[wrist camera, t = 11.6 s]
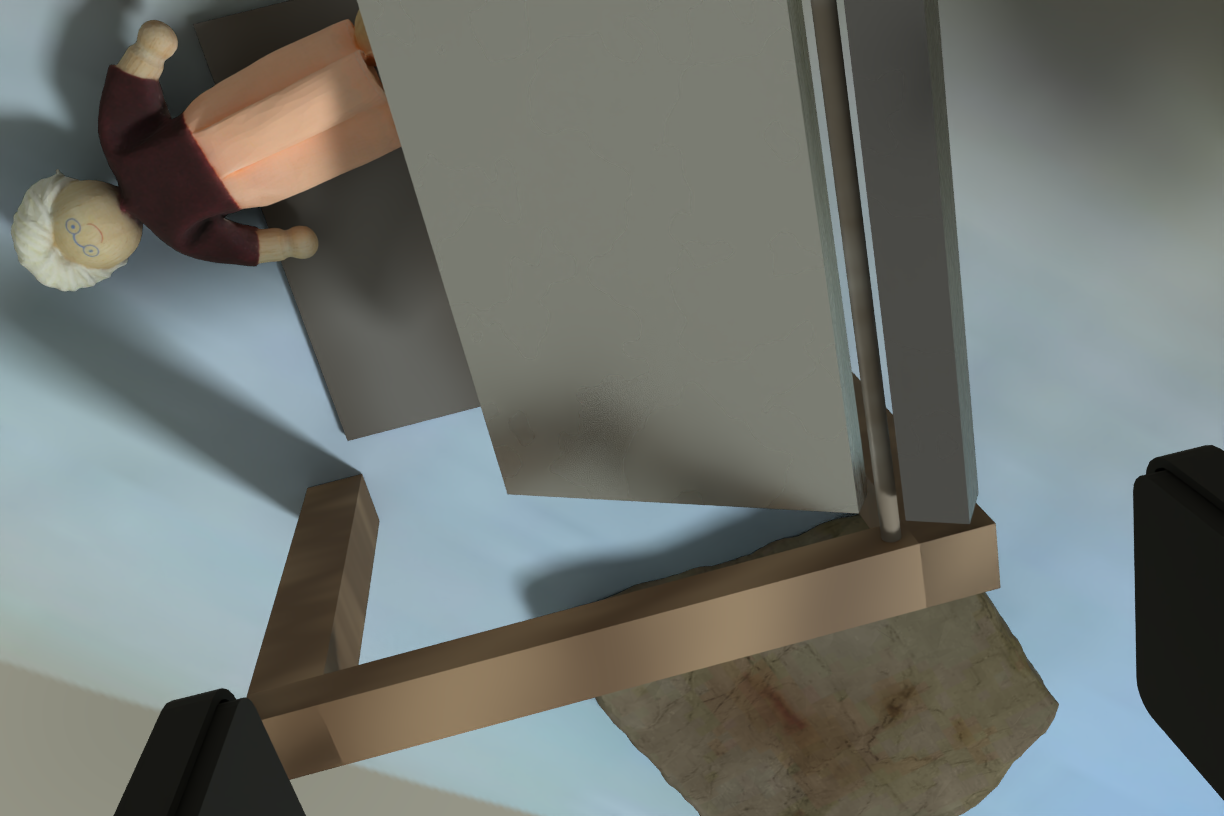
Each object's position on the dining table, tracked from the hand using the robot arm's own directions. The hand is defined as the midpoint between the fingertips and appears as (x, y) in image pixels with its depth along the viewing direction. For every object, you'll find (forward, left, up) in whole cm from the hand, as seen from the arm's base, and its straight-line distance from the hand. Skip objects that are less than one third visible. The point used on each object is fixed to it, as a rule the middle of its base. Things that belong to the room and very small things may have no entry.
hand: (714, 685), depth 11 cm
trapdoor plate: (-3, 0, -16) cm, 17 cm away
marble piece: (-6, +22, -26) cm, 34 cm away
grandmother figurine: (+3, -5, -24) cm, 24 cm away
